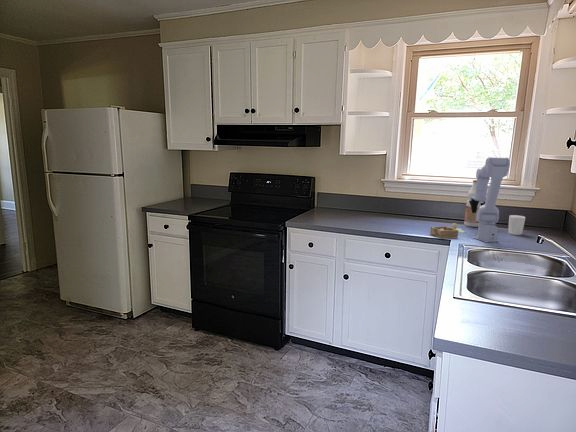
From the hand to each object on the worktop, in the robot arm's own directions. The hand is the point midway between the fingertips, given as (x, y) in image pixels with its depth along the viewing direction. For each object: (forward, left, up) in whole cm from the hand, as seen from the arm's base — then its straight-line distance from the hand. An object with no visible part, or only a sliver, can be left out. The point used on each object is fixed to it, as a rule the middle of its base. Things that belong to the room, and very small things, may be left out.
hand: (478, 214), depth 227 cm
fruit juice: (+16, -10, -11) cm, 22 cm away
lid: (+6, +10, -11) cm, 16 cm away
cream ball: (-3, +25, -8) cm, 27 cm away
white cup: (-7, -20, -11) cm, 24 cm away
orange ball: (-7, +25, -8) cm, 27 cm away
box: (-5, +25, -10) cm, 28 cm away
